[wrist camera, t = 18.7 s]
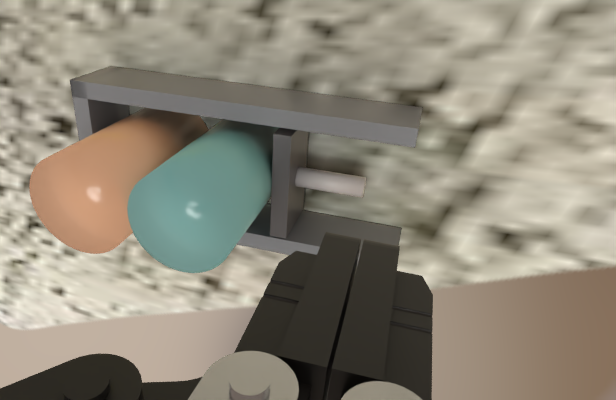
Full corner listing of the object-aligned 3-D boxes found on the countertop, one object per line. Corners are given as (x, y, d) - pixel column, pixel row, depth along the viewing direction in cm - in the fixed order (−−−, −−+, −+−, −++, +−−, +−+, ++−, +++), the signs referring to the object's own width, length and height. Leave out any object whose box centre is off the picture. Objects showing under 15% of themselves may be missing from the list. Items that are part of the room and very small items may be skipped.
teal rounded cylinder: (214, 182, 34) (133, 261, 26) (211, 105, 32) (121, 162, 23) (290, 196, 33) (233, 282, 24) (294, 116, 31) (232, 181, 22)
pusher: (289, 205, 33) (270, 235, 30) (293, 113, 30) (273, 133, 27) (363, 219, 32) (352, 251, 29) (375, 124, 29) (365, 147, 26)
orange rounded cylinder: (141, 171, 35) (40, 242, 27) (133, 95, 33) (19, 146, 24) (213, 184, 34) (132, 262, 26) (211, 106, 32) (120, 164, 23)
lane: (125, 190, 36) (91, 215, 33) (110, 66, 32) (69, 79, 29) (399, 241, 33) (392, 275, 29) (422, 107, 28) (418, 129, 25)
